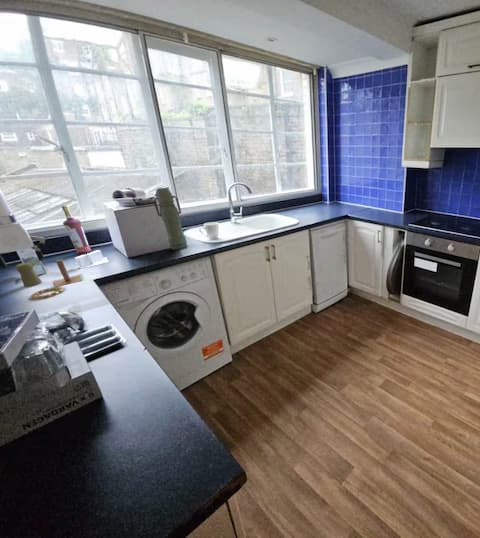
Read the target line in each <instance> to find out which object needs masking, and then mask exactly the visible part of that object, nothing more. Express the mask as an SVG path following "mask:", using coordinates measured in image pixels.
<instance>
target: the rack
mask: <svg viewBox="0 0 480 538" xmlns="http://www.w3.org/2000/svg"><path fill="white" fill-rule="evenodd" d="M55 264H56V265H57V267H58V269H59V271H60V274H61V276H62V278H61V279H58V280H54V282H53V283H54V287H62V286H66V285H70V284H75V283H79V282H82V281H83V278H82V276H81V274H78V275H74V276H70V275H69V272H68V270H67V268H66V266H65V264H64V261H63V259H57V260H55Z"/></svg>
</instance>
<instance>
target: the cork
mask: <svg viewBox="0 0 480 538" xmlns="http://www.w3.org/2000/svg"><path fill="white" fill-rule="evenodd" d="M14 268H15V270H16V271H17V272H18V273H19V275H20V277H21V278H20V279H21V281H22V284H23V287H24V288H31V287H35V286H39V285H41V284H42V283H43V281H42V279H41V278H40V277H39V275H38V276H37V274H36V273H35V272H34V270H33V265H32V264H31V263H22V262H21V263H18V264H17V265H15V267H14Z"/></svg>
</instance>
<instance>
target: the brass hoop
mask: <svg viewBox="0 0 480 538" xmlns="http://www.w3.org/2000/svg"><path fill="white" fill-rule="evenodd" d="M49 292H51V293H49ZM63 292H65V288H64V287H62V286H59V287H55V286H54V287H49V288H43V289H41V290H39V291H36V292H34V293H32V294H31V295H30V300H31V301H32V300H34V301H39V300H46V299H49V298H53V297H55V296H57V295H60V294H62V293H63ZM45 293H47V294H45ZM42 294H43V295H42Z"/></svg>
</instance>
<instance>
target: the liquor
mask: <svg viewBox="0 0 480 538" xmlns="http://www.w3.org/2000/svg"><path fill="white" fill-rule="evenodd" d="M61 209H62V211H63V212H64V215H65V219H66V220H64V221H63V222H62V225H63V227H64V228H65V231H66V233H67V234H68V237H69V238H70V240H71V242H72V245H73V246H74V248H75V250H76V254H78V255H86V253H91V252H92V248H91V246H90V245H89V242H88V240H87V236H86V234H85V231H84V227H83V225H82V222H81V220H79V219H77V218H74V216H73V214H72V213H71V211H70V207H69V205H66V204H65V205H61Z"/></svg>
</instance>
